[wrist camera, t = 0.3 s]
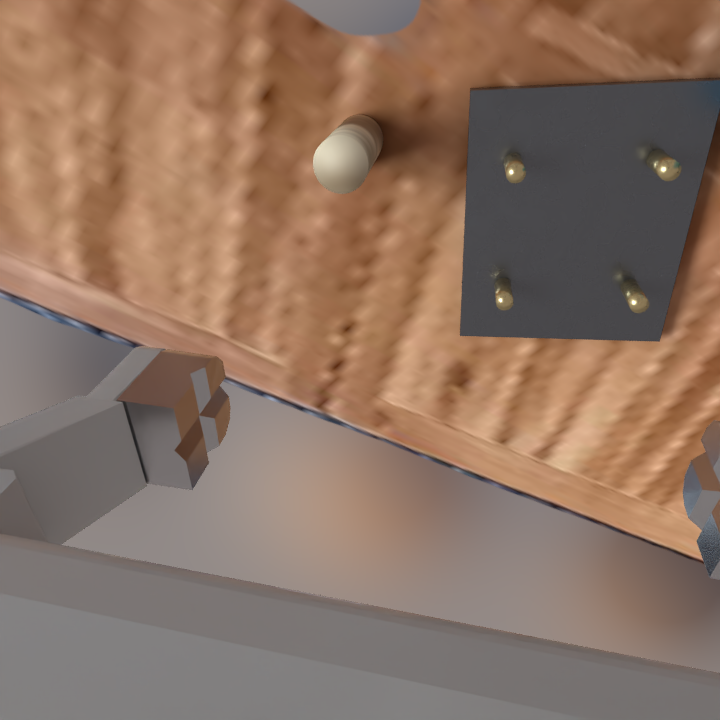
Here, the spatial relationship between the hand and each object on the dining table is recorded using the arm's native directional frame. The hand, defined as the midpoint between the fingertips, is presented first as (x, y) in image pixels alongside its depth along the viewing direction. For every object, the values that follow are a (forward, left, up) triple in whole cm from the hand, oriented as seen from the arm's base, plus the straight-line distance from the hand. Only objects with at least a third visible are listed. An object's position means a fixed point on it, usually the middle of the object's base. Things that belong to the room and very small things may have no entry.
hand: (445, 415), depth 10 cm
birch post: (+5, -9, -47) cm, 48 cm away
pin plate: (+13, +11, -47) cm, 50 cm away
